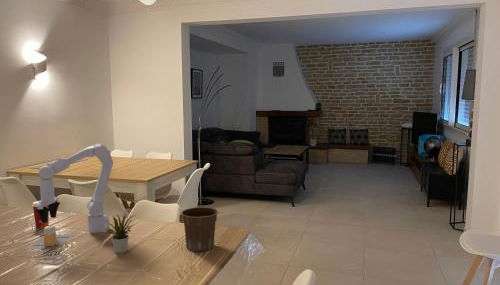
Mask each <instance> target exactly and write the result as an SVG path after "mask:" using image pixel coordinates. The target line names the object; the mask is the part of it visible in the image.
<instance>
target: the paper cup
mask: <svg viewBox="0 0 500 285" xmlns="http://www.w3.org/2000/svg"><path fill="white" fill-rule="evenodd" d="M39 201H40V200H37V201H33V203H32V209H33V216H34V223H35V229H44V228H45V227H46V226H50V225H49V220H50V212H49V213H48V222H47V223H42V221H41V218H40V215H39V214H38V212H37V211H36V208H38V206H37V205H39ZM46 208H48V206H46Z"/></svg>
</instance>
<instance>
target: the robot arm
mask: <svg viewBox="0 0 500 285" xmlns="http://www.w3.org/2000/svg"><path fill="white" fill-rule="evenodd" d="M94 157H96V158H97V159H98V160H99V161H100V162H101V167H100V171H99V174H98V178H97V181H96V185H95V188H94V191H93V195H92V196H91V198H90V200H89V202H88V203H87V210H88V214H87V224H88V225H87V228H88V232H89V233H91V234H96V233H107V231H109V229H108V228H110V229H111V227H110V224H109V223H110V216H109V215H108V214H104V201H105V200H104V198H105V194H106V190H107V186H108V183H109V179H110V176H111V173H112V169H113V166H114V160H113V158H112V154H111V151H110V150H109V149H108V147H106V145H104V144H102V143H95V144H93V145H89V146H88V147H85V148H84V149H81V150H80V151H77V152H76V153H74V154H72V155H70V156H68V157H57V159H56V160H54V161H53V162H47V164H46V165H42V166H41V167H40V168H39V170H38V174H39V177H40V178H39V190H40V200H38V201H39V205H37V206H38V208H36V211H37V212H38V214H39V215H40V218H41V221H42V223H47V222H48V213H49V218H52V219H53V218H55V219H56V217H57V213H58V209H59V206H60V204H61V202H60V201H59V197H58V196H56V195H55V184H54V183H55V182H54V175H57V174H60V173H62V172H64V171H66V170H67V169H70V166H71V165H72V164H74V163H76V162H78V161H80V160H82V159H86V158H94ZM46 206H48V208H46ZM103 220H104V221H103ZM106 221H107V222H106ZM108 222H109V223H108Z"/></svg>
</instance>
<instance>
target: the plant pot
mask: <svg viewBox="0 0 500 285" xmlns="http://www.w3.org/2000/svg"><path fill="white" fill-rule="evenodd" d="M180 214H181V216H182V221H183V226H184V234H185V246H186V248H187V250H188V251H191V252H200V251H202V252H205V251H210V250H211V249H213V248H214V247H215V234H216V222H217V217H218V214H219V210H218V209H216V208H213V207H207V206H205V207H204V206H201V207H200V206H199V207H197V206H196V207H190V208H186V209H184V210H182V211H181V213H180Z"/></svg>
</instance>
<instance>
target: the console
mask: <svg viewBox="0 0 500 285" xmlns="http://www.w3.org/2000/svg"><path fill="white" fill-rule="evenodd" d="M75 235H76V234H75V233H73V234H56V243H57V244H56V245H54V246H44V235H43V236H42V237H40V238H38V239H37V240H35V241H33V242H32V243H31V244H29V245H27V246H26V247H24V250H57V249H58V248H60V247H61V246H62V245H64V244H65V243H66V242H67V241H69V239H72V238H73V236H75Z"/></svg>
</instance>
